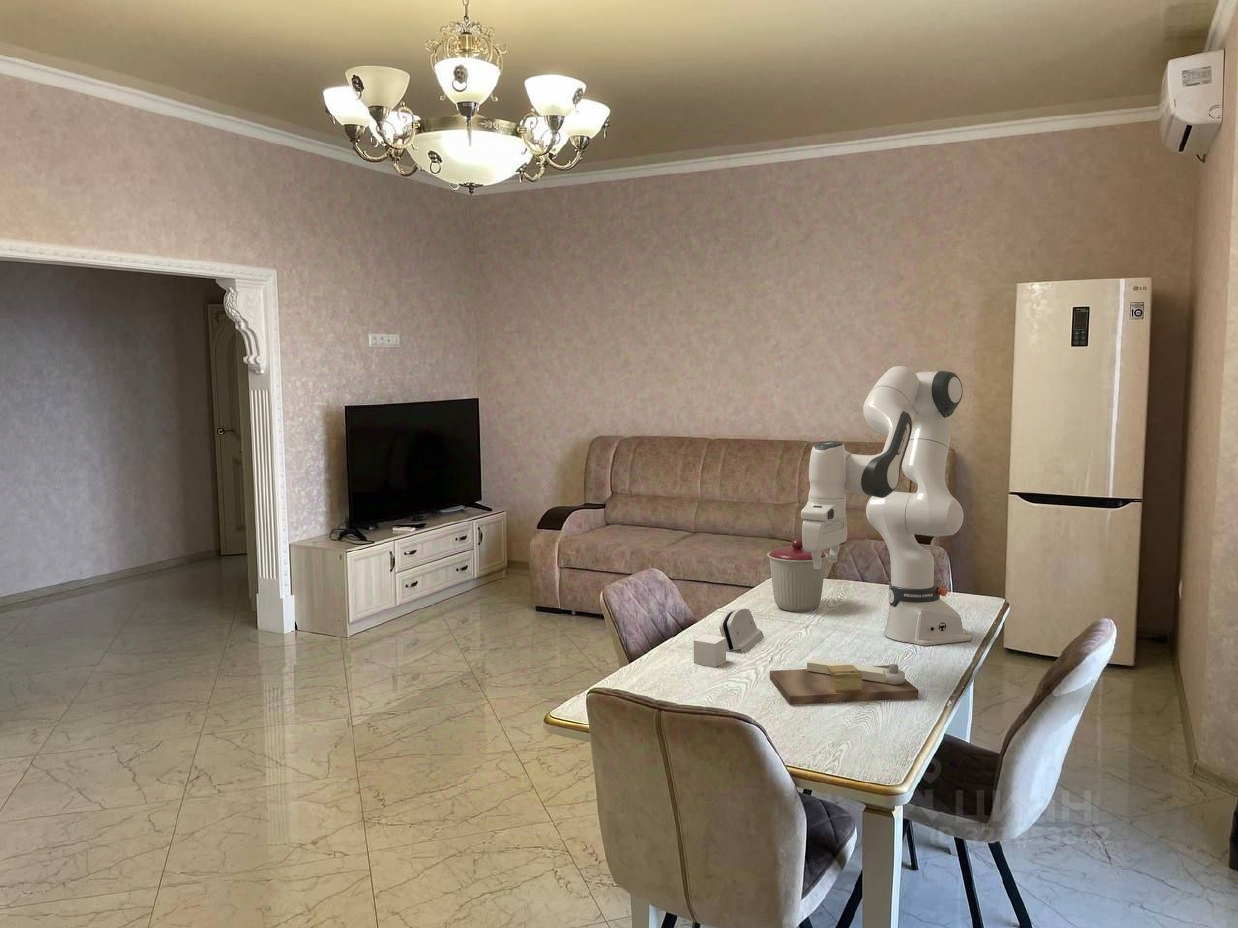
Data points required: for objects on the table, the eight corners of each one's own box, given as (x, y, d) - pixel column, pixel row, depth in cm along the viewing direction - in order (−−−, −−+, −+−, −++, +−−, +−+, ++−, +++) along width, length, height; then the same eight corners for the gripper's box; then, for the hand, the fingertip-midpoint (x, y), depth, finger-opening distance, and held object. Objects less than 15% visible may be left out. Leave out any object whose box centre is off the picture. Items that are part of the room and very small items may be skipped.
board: (888, 673, 220) (889, 665, 219) (918, 698, 203) (918, 689, 203) (769, 678, 217) (769, 670, 217) (789, 705, 200) (789, 696, 200)
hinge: (743, 653, 236) (731, 616, 237) (727, 657, 238) (714, 620, 239) (764, 636, 251) (752, 601, 251) (748, 640, 253) (737, 605, 254)
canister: (836, 604, 283) (836, 537, 281) (815, 618, 268) (815, 547, 266) (780, 597, 293) (781, 532, 290) (757, 610, 277) (757, 541, 275)
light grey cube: (715, 667, 226) (715, 643, 226) (693, 663, 229) (693, 640, 229) (726, 660, 231) (725, 637, 231) (704, 656, 235) (704, 633, 234)
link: (906, 679, 209) (907, 663, 208) (901, 685, 204) (902, 670, 204) (812, 665, 219) (812, 650, 219) (806, 671, 215) (806, 656, 215)
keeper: (852, 681, 208) (852, 664, 208) (861, 690, 202) (862, 673, 202) (826, 682, 208) (826, 665, 207) (835, 692, 202) (835, 674, 201)
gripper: (830, 503, 232) (828, 557, 233) (797, 512, 215) (796, 570, 216) (854, 505, 229) (853, 560, 230) (823, 514, 212) (822, 573, 213)
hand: (825, 565), depth 223 cm, fingers open, 8 cm apart
